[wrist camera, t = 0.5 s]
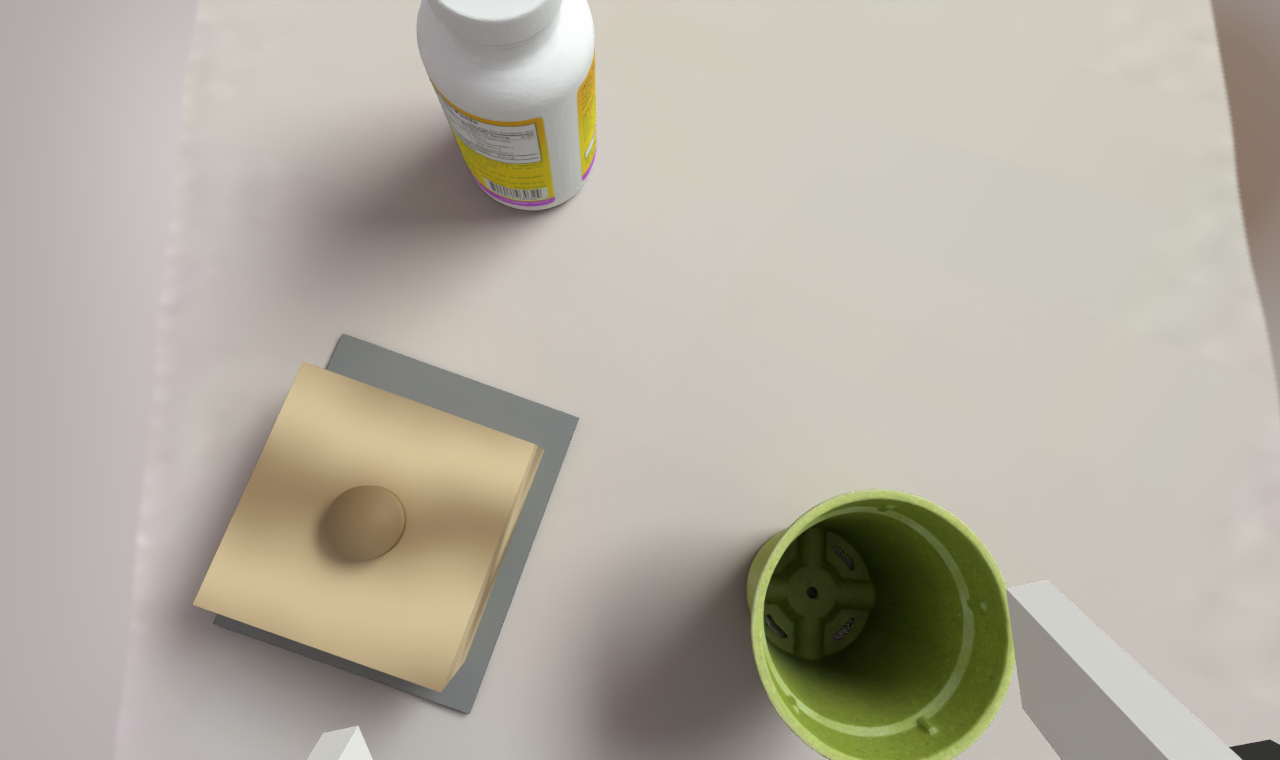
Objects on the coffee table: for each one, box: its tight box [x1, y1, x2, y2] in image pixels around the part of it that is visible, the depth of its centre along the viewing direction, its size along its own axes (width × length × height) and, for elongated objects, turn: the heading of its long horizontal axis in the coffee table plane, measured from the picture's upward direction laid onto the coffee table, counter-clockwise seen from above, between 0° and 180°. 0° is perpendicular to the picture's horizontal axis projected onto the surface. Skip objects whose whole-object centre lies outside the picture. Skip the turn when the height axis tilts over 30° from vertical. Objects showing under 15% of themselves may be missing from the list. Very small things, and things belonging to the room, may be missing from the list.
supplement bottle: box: [417, 0, 597, 210], centre depth 27 cm, size 7×7×13 cm
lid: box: [193, 362, 544, 692], centre depth 27 cm, size 10×10×5 cm
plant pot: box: [747, 489, 1016, 760], centre depth 27 cm, size 9×9×9 cm
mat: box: [213, 334, 579, 714], centre depth 30 cm, size 14×12×1 cm
